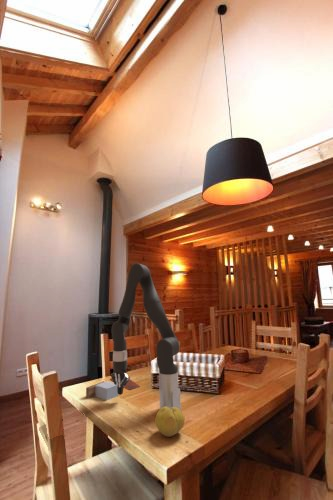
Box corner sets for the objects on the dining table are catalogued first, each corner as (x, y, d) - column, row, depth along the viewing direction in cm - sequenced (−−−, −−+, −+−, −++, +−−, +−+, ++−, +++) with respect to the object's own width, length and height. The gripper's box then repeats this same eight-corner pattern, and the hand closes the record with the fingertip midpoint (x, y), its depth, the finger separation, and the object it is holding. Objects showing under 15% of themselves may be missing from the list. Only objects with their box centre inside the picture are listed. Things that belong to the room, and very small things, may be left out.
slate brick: (118, 396, 142) (118, 384, 143) (106, 401, 136) (106, 388, 137) (106, 392, 148) (107, 381, 149) (95, 396, 142) (95, 385, 143)
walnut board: (106, 391, 149) (107, 382, 150) (89, 398, 139) (89, 388, 140) (103, 390, 151) (103, 381, 151) (86, 397, 141) (86, 387, 142)
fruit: (179, 445, 95) (178, 415, 96) (150, 439, 99) (150, 411, 100) (188, 430, 105) (187, 403, 106) (161, 425, 109) (161, 400, 111)
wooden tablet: (109, 380, 170) (109, 377, 170) (122, 377, 176) (122, 374, 176) (127, 392, 149) (127, 389, 149) (142, 387, 154) (142, 384, 155)
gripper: (133, 359, 136) (134, 394, 133) (117, 356, 144) (117, 389, 141) (123, 362, 130) (123, 399, 127) (106, 359, 138) (106, 393, 135)
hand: (120, 394), depth 134 cm, fingers closed
